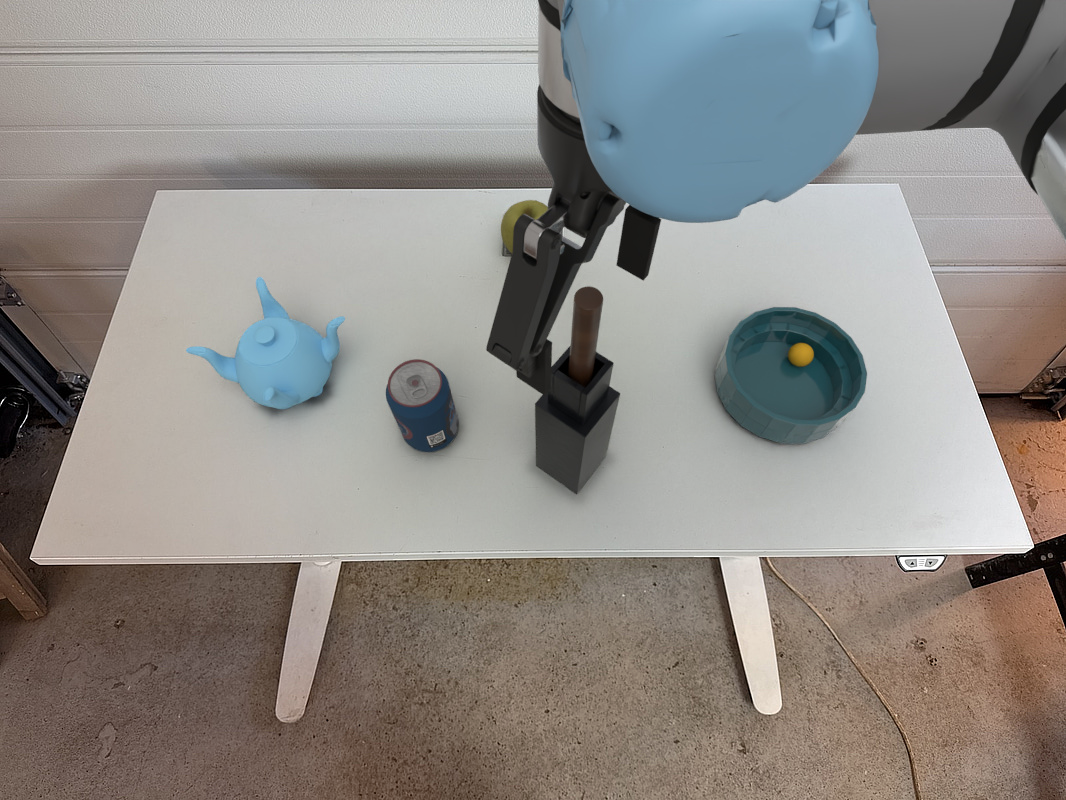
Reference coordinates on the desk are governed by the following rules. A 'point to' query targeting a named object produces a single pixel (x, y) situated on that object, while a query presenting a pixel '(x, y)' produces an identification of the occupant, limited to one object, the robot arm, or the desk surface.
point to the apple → (514, 212)
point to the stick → (584, 334)
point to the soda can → (422, 405)
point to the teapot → (278, 356)
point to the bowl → (789, 375)
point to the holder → (575, 423)
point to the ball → (800, 354)
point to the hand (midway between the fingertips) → (585, 324)
